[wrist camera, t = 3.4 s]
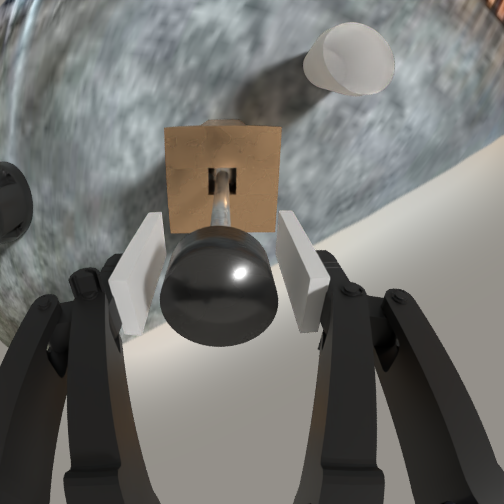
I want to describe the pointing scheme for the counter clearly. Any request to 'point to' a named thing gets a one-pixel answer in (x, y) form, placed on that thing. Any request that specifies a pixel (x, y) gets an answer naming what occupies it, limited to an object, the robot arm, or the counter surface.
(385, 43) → the cup
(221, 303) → the plunger
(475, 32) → the counter surface
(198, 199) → the block
